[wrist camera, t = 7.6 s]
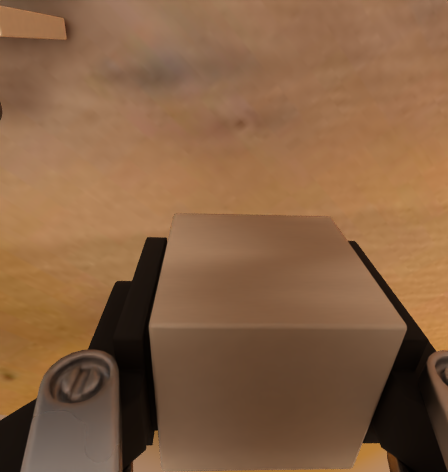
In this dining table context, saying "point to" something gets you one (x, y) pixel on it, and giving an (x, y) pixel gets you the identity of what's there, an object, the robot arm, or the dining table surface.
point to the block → (266, 344)
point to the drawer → (30, 26)
